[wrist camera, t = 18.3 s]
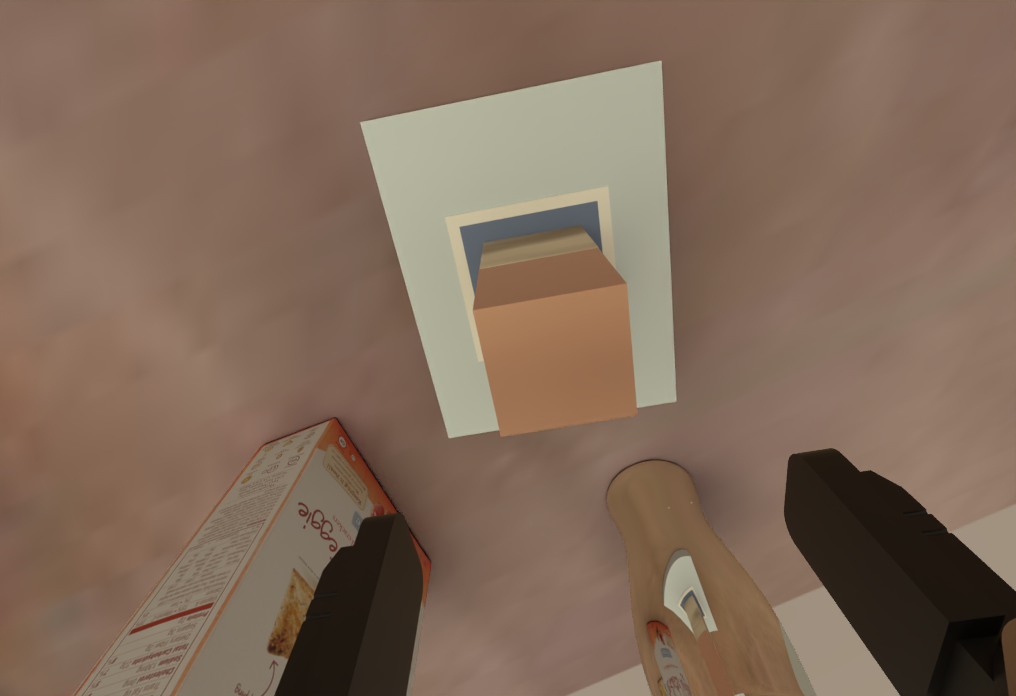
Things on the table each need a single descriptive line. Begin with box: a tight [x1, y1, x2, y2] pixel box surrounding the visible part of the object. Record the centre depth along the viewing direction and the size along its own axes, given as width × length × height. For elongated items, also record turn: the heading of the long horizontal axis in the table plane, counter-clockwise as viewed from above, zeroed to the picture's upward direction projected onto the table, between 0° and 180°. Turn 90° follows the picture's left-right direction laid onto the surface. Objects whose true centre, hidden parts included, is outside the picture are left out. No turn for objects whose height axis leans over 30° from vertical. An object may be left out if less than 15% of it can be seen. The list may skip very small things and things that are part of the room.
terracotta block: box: [473, 248, 637, 437], centre depth 19 cm, size 5×5×5 cm
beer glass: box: [606, 460, 816, 696], centre depth 27 cm, size 7×7×15 cm
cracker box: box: [72, 418, 431, 696], centre depth 24 cm, size 14×6×21 cm, turn 22°
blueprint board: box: [360, 60, 676, 438], centre depth 26 cm, size 18×14×1 cm
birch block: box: [479, 225, 599, 269], centre depth 23 cm, size 5×5×5 cm
